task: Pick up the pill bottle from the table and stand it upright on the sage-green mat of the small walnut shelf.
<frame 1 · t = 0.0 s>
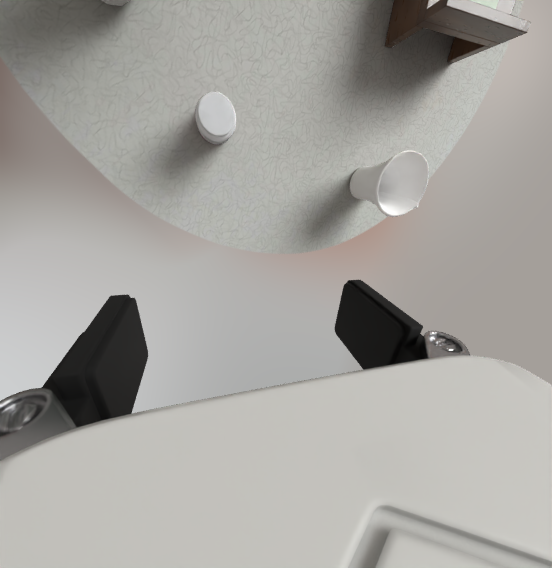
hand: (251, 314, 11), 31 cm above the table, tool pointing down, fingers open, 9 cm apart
pill bottle: (214, 125, 33), on the table
shelf: (432, 8, 33), on the table
cup: (363, 181, 42), on the table
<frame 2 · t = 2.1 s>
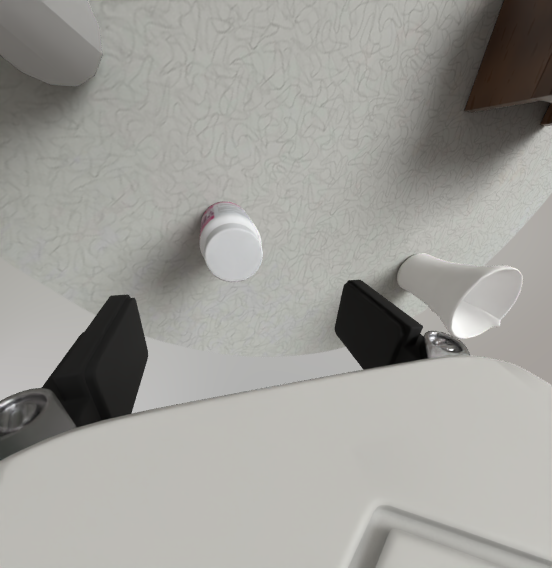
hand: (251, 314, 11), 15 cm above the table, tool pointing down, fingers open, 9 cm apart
salt shaker: (62, 39, 15), on the table
pill bottle: (225, 225, 23), on the table
shelf: (533, 59, 23), on the table
cup: (414, 269, 33), on the table
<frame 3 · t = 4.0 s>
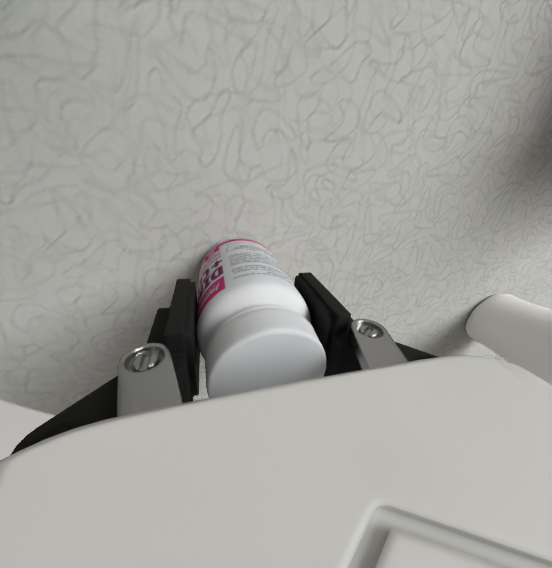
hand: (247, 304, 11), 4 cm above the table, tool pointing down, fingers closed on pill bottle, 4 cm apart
pill bottle: (238, 271, 15), on the table, touching gripper
cup: (487, 312, 24), on the table
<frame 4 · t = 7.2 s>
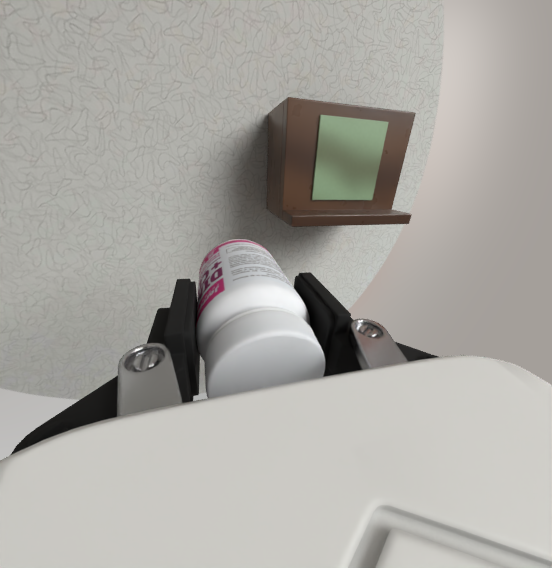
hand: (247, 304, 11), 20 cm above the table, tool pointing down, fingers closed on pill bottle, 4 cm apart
pill bottle: (237, 272, 15), point 16 cm above the table, touching gripper
shelf: (317, 167, 29), on the table
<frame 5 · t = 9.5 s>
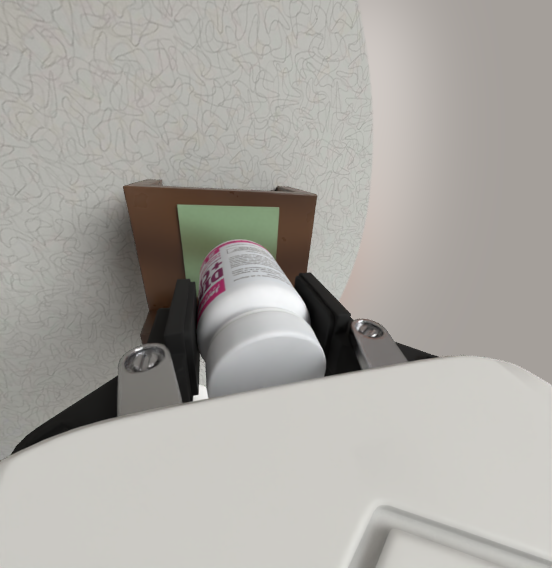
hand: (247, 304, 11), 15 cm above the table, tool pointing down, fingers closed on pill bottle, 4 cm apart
pill bottle: (238, 273, 15), point 11 cm above the table, touching gripper
shelf: (225, 235, 24), on the table
when the fingers open (11 cm above the table, at t = 10.8 s): pill bottle stays where it is, resting on shelf.
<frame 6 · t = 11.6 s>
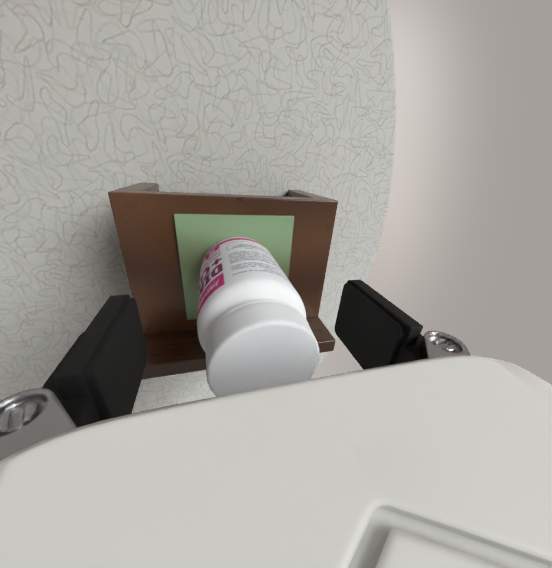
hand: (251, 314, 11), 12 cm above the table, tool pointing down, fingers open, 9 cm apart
pill bottle: (237, 270, 15), point 7 cm above the table, touching shelf
shelf: (229, 244, 22), on the table
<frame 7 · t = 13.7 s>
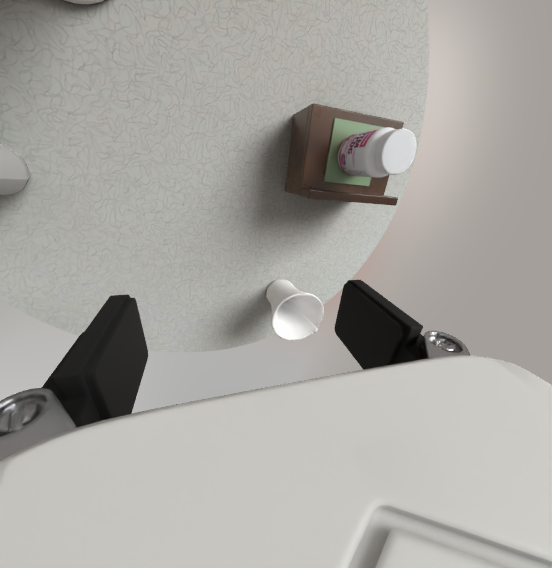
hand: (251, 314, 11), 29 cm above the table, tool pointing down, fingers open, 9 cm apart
salt shaker: (8, 166, 27), on the table
pill bottle: (352, 155, 30), point 7 cm above the table, touching shelf
shelf: (327, 160, 37), on the table
cup: (281, 290, 45), on the table
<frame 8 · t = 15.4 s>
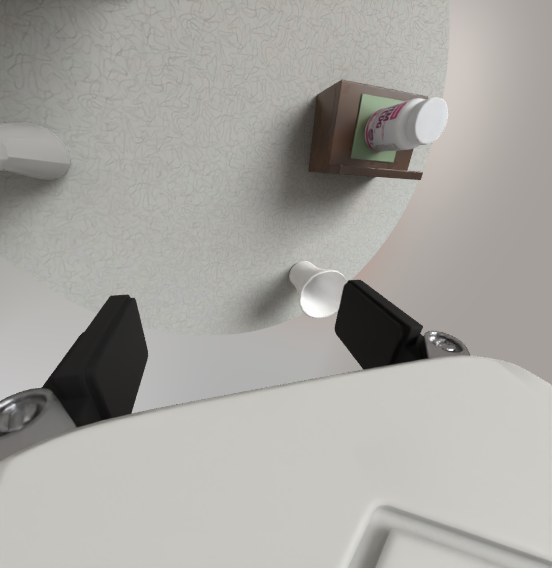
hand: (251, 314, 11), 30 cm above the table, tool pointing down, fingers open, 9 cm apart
salt shaker: (50, 153, 29), on the table
pill bottle: (378, 131, 31), point 7 cm above the table, touching shelf
shelf: (349, 140, 37), on the table
cup: (303, 272, 46), on the table
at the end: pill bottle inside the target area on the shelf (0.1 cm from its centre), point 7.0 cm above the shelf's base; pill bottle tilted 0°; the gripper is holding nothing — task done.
